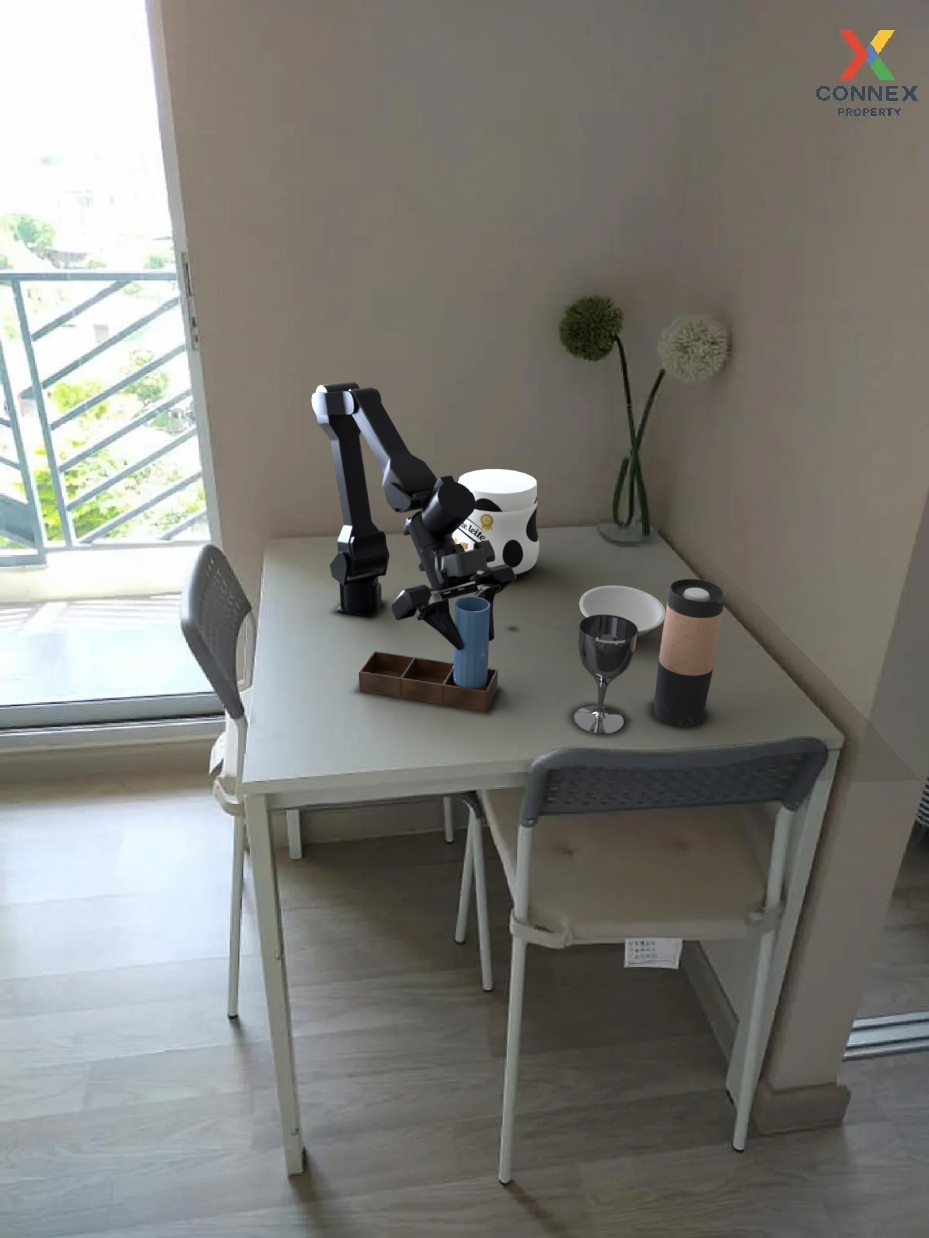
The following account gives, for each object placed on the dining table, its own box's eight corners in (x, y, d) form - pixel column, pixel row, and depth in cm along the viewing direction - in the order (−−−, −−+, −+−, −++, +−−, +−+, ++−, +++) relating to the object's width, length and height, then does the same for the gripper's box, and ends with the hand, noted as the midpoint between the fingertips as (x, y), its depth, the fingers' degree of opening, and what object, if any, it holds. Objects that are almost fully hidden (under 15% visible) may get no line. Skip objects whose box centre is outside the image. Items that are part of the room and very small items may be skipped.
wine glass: (613, 741, 122) (624, 646, 115) (561, 723, 125) (569, 631, 118) (635, 715, 128) (646, 623, 121) (585, 698, 131) (594, 609, 124)
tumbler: (447, 683, 129) (448, 607, 123) (463, 668, 133) (464, 594, 127) (478, 691, 127) (480, 615, 121) (492, 676, 131) (495, 601, 125)
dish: (572, 609, 158) (574, 584, 156) (651, 611, 158) (654, 586, 156) (583, 657, 143) (585, 630, 140) (671, 659, 143) (675, 632, 140)
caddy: (359, 691, 132) (358, 671, 130) (375, 669, 138) (374, 650, 136) (486, 712, 128) (487, 692, 126) (497, 688, 133) (498, 669, 132)
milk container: (437, 576, 170) (437, 487, 162) (470, 545, 185) (472, 463, 177) (521, 592, 165) (525, 501, 156) (549, 559, 179) (554, 474, 171)
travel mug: (645, 699, 131) (662, 578, 122) (695, 698, 132) (715, 577, 123) (660, 728, 125) (678, 602, 116) (712, 727, 125) (734, 601, 116)
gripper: (400, 536, 118) (443, 642, 114) (512, 512, 127) (554, 609, 124) (374, 570, 127) (413, 668, 124) (479, 545, 136) (518, 636, 133)
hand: (476, 644), depth 126 cm, fingers closed on tumbler, 5 cm apart
